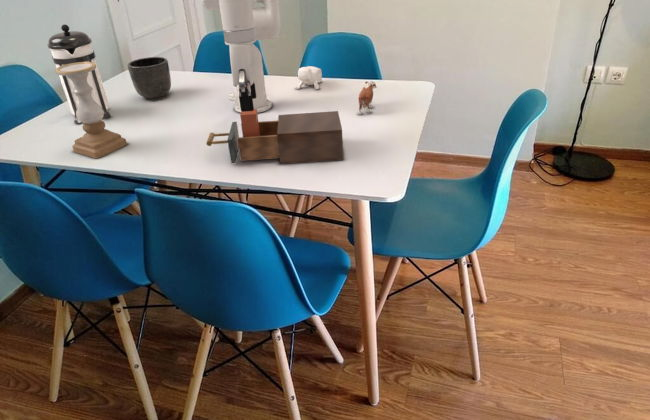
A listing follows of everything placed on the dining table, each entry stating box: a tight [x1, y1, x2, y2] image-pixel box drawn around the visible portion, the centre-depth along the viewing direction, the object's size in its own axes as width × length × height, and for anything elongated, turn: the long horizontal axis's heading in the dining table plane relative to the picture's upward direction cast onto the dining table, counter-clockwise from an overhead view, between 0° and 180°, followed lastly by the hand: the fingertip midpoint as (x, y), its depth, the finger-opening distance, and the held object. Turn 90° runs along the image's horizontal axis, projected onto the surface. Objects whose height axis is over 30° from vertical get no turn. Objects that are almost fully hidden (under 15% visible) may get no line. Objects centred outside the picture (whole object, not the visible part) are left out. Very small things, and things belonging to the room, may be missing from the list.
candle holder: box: [54, 62, 128, 159], centre depth 139 cm, size 11×11×24 cm
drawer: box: [205, 120, 280, 164], centre depth 133 cm, size 22×12×7 cm, turn 93°
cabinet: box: [277, 110, 344, 165], centre depth 134 cm, size 17×14×9 cm
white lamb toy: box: [295, 65, 323, 90], centre depth 182 cm, size 9×8×15 cm
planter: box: [127, 56, 172, 101], centre depth 180 cm, size 14×14×13 cm
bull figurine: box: [358, 79, 378, 115], centre depth 159 cm, size 4×13×8 cm, turn 161°
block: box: [240, 109, 260, 137], centre depth 132 cm, size 4×4×10 cm
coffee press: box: [47, 23, 112, 125], centre depth 162 cm, size 17×16×30 cm
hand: (249, 104), depth 128 cm, fingers open, 9 cm apart
